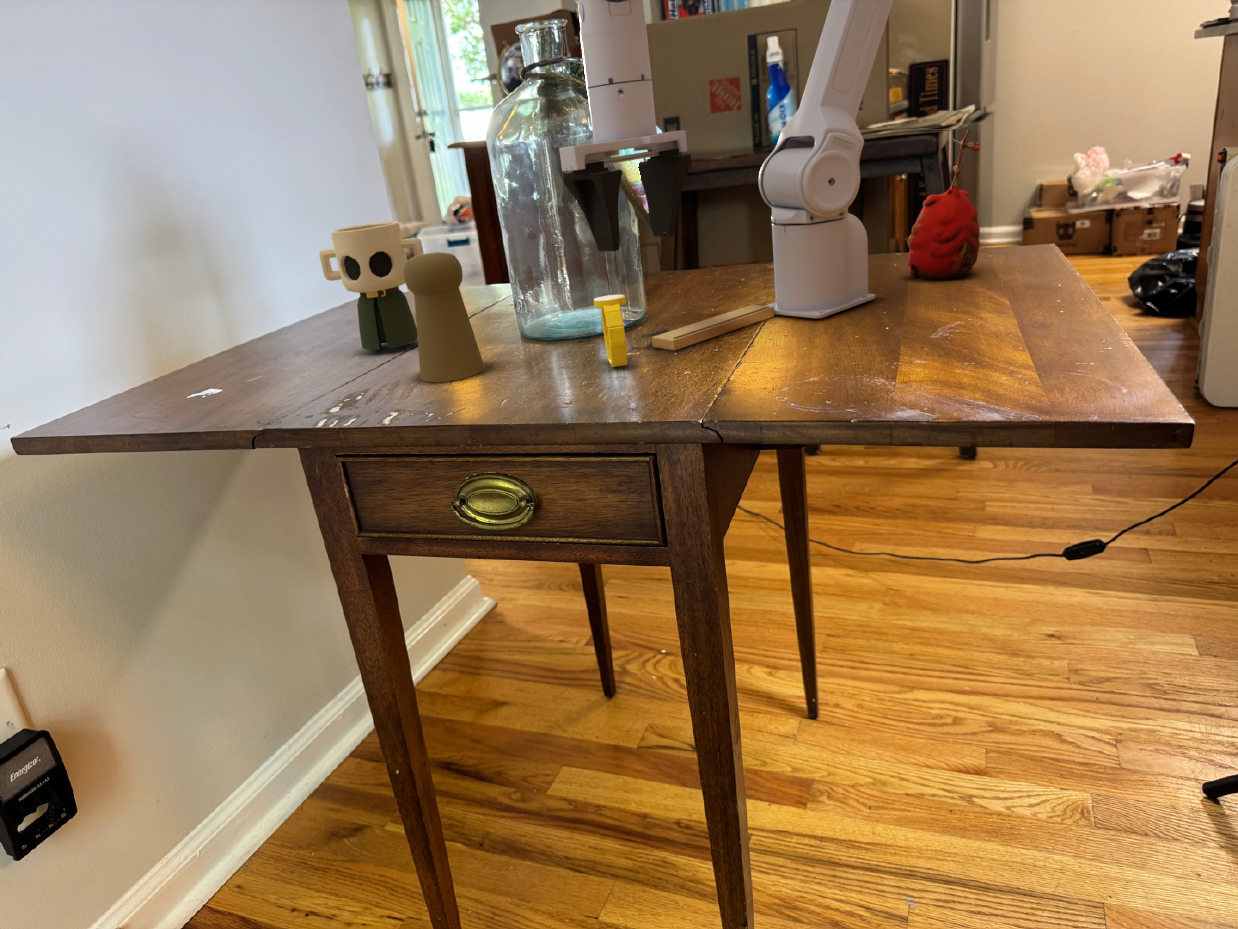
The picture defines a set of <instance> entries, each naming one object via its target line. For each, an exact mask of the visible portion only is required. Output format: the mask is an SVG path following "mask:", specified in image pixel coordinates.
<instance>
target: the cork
mask: <svg viewBox="0 0 1238 929" xmlns="http://www.w3.org/2000/svg"><path fill="white" fill-rule="evenodd" d="M461 264H462V263H461V262H460V260H459V259H458V258H457V257H456V255H455V254H453V253H451V252H443V251H435V252H434V251H433V252H426V253H423V254H421V255H418V256H416V257H415V256H413V257H411V258H409V259H407V262H406V263H405V266H404V279H405V285H406V287H407V290H409V291H410V292H411V293H412V294H413V299H414V309H415V324H416V327H417V337H418V338H417V347H418V348H417V350H418V362H419V373H420V374H419V375H420V376H419V377H420V380H421V381H423V382H427V383H446V382H447V383H448V382H454V381H458V380H463V379H467V378H470V377H474V376H476V375H478V374H480V373H482V372H483V371H484V370H485V369H486V367H485V364H484V361H483V358H482V354H481V351H480V349H479V345H478V343H477V342H478V341H477V340H476V336H475V333H474V329H473V326H472V323H471V321H470V317H469V314H468V311H467V308H466V305H465V302H464V299H463V296H462V293H461V289H460V286H461V284H462V282H463V274H464V273H463V268H462V265H461Z"/></svg>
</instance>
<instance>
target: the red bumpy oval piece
mask: <svg viewBox="0 0 1238 929" xmlns="http://www.w3.org/2000/svg"><path fill="white" fill-rule="evenodd" d="M971 132H972V129H970V128H968V129H967V130H966V132H965V134H964V137H963V139H962V140H960V141H958V140H957V139H955V138H952V139H951V141H952V142H953V143H956V144H958V145H959V146H960V147H959V152H958V156H957V163H956V165H954V166H953V167H952V170H953V172H954V177H953V180H952V183H951V185H950V187H949V188H948V189H947V190H946V191H945V192H943V193H941V194H935V193H933V194H929V195H928V196H927V197H926V199H925V200H923V202H922V208H921V210H920V213H919V215H918V216H917V218H916V221H915V223H914V225H912V228H911V233H910V235H909V236H908V238H907V245H908V247H909V252H908V256H907V262H908V267H909V269H908V276H909V277H911V278H920V279H921V278H924V279H927V280H937V281H938V280H945V279H946V280H947V279H955V278H960V277H963V276H966V275H968V274H970V272H971V271H972V269H973V268H974V266H975V265H976V263H977V260H978V255H979V254H978V253H979V250H980V244H981V243H980V224H979V219H978V211H977V209H976V208H975V206H974V204H973V202H971V200H970V197H969V192H968V191H966V190H964V189H963V190H962V189H959V176H960V173H961V163H962V160H963V154H964V151H965V150H968V151H969V150H970V151H972V152H976V153H977V152H979V151H980V149H981V143H980V141H978V142H976V143H975V142H971V141H969V142H968V139H967V137H968V136H969V134H970V133H971Z"/></svg>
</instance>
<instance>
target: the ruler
mask: <svg viewBox="0 0 1238 929" xmlns="http://www.w3.org/2000/svg"><path fill="white" fill-rule="evenodd" d="M774 317H775V314H774V307H770V306H765V305H759V304H758V305H757V304H749V305H746V306H743V307H741V308H738V309H734V310H732V311H731V310H730V311H728V312H725V313H722V314H719V315H716V316H713V317H709V318H707V319H703V320H700V321H698V322H695V323H691V324H688V325H684V326H681V327H679V328H675V329H673V330H670V331H666V332H663V333H660V334H656V335H654V336H652V337H651V342H652V348H655V349H656V348H657V349H663V350H668V351H674V352H675V351H677V350H680V349H683V348H686V347H689V346H691V345H695V344H699V343H701V342H704V341H707V340H710V339H712V338H715V337H719V336H721V335H724V334H727V333H730V332H733V331H736V330H739V329H742V328H745V327H748V326H750V325H753V324H757V323H759V322H762V321H765V320H768V319H771V318H774Z"/></svg>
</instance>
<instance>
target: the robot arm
mask: <svg viewBox="0 0 1238 929" xmlns="http://www.w3.org/2000/svg"><path fill="white" fill-rule="evenodd" d="M574 2H575V3H576V4H577V12H578V19H579V27H580V31H579V35H580V44H581V50H582V51H581V53H582V59H583V67H584V75H585V83H586V84H585V85H586V91H587V97H588V98H587V99H588V106H589V113H590V114H589V115H590V120H591V121H590V122H591V129H592V130H591V131H592V138H593V142H589V143H588V142H587V143H583V144H576V145H570V146H564V147H559V148H558V149H559V151H558V152H559V158H560V165H561V172H562V181H563V184H564V186H565V187H566V188H567V190H568V191H569V192H570V194H571V195H572V196H573V198H574V200H575V201H576V202H577V205H578V206H579V207H580V209H581V211H582V213H583V215H584V218H585V220H586V222H587V224H588V227H589V229H590V232H591V234H592V237H593V239H594V242H595V245H596V247H597V250H598V252H616V251H620V245H621V244H620V243H621V235H620V223H619V222H620V220H619V199H620V198H619V196H620V189H621V188H620V187H621V181H622V176H623V170H622V169H610V170H609V167H605V166H606V165H607V166H608V165H613V164H619V163H623V162H629V161H630V162H631V161H634V160H641V159H642V160H643V159H646V158H647V159H646V160H643V161H644V162H643V161H639V162H640V163H639V167H638V168H639V171H640V175H641V179H640V182H641V181H642V182H641V185H642V188H643V191H644V195H645V199H646V203H647V209H648V216H649V222H650V227H651V231H652V234H653V237H673V236H675V230H676V221H677V215H678V209H679V203H680V199H681V198H680V197H681V193H682V189H683V186H684V183H685V181H686V178H687V175H688V173H689V170H690V168H691V166H692V165H693V164H692V162H693V160H692V154H691V153H685V152H688V144H687V132H686V129H682V130H673V131H666V132H658V131H657V129H658V128H657V118H656V110H655V99H654V89H653V80H652V79H653V78H652V69H651V61H650V60H651V59H650V48H649V39H648V31H647V30H648V29H647V22H646V16H645V15H646V14H645V6H644V0H574ZM893 4H894V0H831V2H830V5H829V9H828V12H827V15H826V17H825V18H826V19H825V23H824V25H823V28H822V31H821V35H820V38H819V41H818V44H817V48H816V51H815V55H814V58H813V62H812V65H811V68H810V71H809V74H808V78H807V81H806V84H805V88H804V90H803V94H802V98H801V101H800V104H799V107H798V109H797V111H796V112H795V114H794V115H793V116H792V117H791V118H790V120H789V121H788V122H787V123H786V124H785V126H784V127H783V128H782V130H781V131H780V134H779V137H778V140H777V143H776V145H775V146H774V149H773V150H772V152H771V153H770V154H769V155H768V156H767V157H766V158H765V160H764V161H763V163H762V165H761V167H760V170H759V174H758V188H759V193H760V196H761V198H762V200H763V201H764V203H765V204H766V205H767V206H768V207H769V208H771V216H770V220H771V222H772V223H771V234H772V235H771V237H772V253H773V254H772V255H773V273H774V274H773V275H774V293H775V294H774V295H775V301H774V302H771V303H769V304H766V305H764V306H770V307H774V315H777V316H789V317H795V318H796V317H798V318H805V319H806V318H807V319H817V320H818V319H823V318H826V317H828V316H831V315H834V314H837V313H839V312H842V311H845V310H848V309H850V308H853V307H857V306H859V305H863V304H864V303H867V302H870V301H872V300H875V299H876V294H875V293H869V245H868V244H869V240H868V235H867V230H866V228H865V226H864V224H863V223H862V221H861V220H860V219H859V218H858V217H857V216H855V215H854V214H853V213H850V212H849V207H850V206H851V205H852V203H853V202H854V201H855V199H856V197H857V195H858V192H859V190H860V184H861V169H860V159H861V155H862V150H863V147H864V145H865V140H864V137H863V135H862V133H861V131H860V129H859V127H858V125H857V122H856V118H857V115H858V112H859V109H860V105H861V103H862V100H863V97H864V94H865V90H866V88H867V85H868V81H869V78H870V74H871V71H872V69H873V66H874V63H875V59H876V56H877V53H878V51H879V47H880V45H881V41H882V37H883V34H884V31H885V29H886V25H887V22H888V19H889V15H890V13H891V9H892V6H893ZM629 149H633V150H634V152H636V153H630V154H624V155H620V151H621V150H629ZM639 151H640V152H639ZM641 151H643V152H641ZM680 153H682V154H680ZM612 156H613V157H612ZM655 228H656V229H655ZM662 232H666V233H662Z"/></svg>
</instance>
